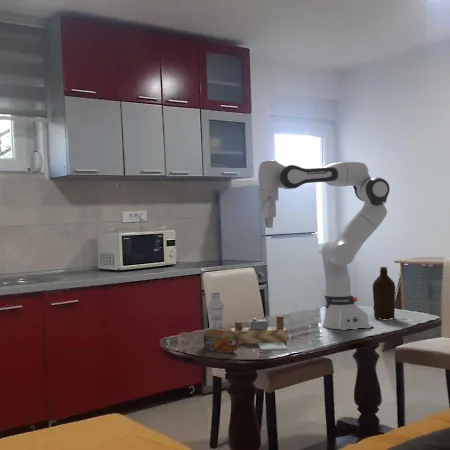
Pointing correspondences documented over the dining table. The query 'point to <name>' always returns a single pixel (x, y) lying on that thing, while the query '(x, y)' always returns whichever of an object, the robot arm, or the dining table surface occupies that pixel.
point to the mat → (272, 346)
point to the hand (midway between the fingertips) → (268, 227)
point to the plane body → (262, 333)
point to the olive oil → (384, 296)
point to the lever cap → (258, 324)
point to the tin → (221, 340)
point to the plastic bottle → (216, 312)
